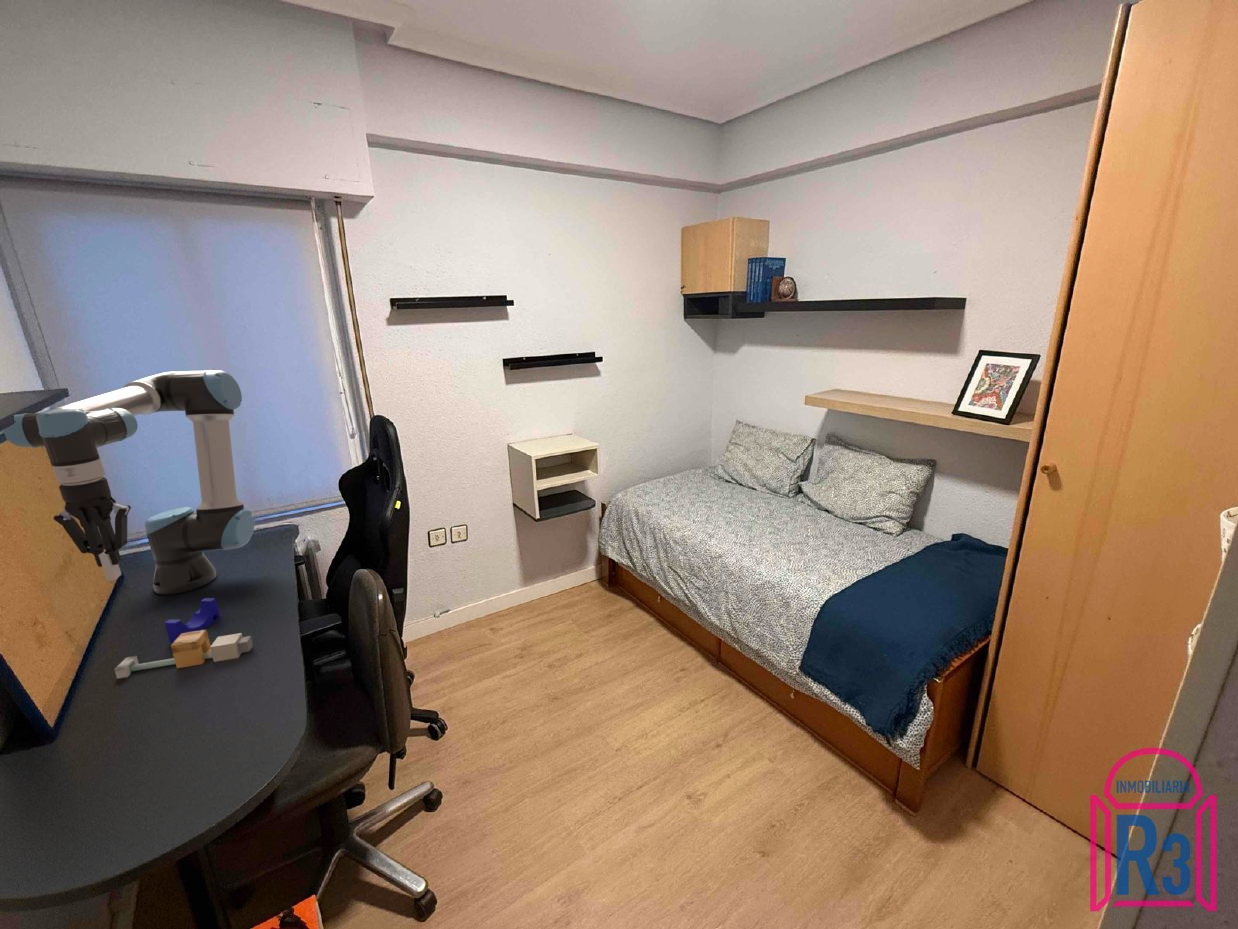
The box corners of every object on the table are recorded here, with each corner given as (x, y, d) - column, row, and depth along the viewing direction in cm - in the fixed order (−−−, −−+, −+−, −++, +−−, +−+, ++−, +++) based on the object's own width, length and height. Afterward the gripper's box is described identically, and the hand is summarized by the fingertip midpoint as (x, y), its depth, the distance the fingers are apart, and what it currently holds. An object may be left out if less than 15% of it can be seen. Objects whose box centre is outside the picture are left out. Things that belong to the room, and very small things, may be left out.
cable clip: (205, 617, 144) (199, 598, 142) (220, 618, 144) (215, 598, 142) (164, 643, 132) (158, 622, 131) (181, 644, 132) (175, 623, 130)
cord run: (116, 678, 119) (111, 663, 118) (128, 666, 123) (123, 651, 122) (248, 656, 126) (244, 641, 125) (255, 645, 130) (251, 631, 129)
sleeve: (177, 668, 122) (170, 645, 120) (187, 655, 127) (181, 633, 125) (202, 664, 123) (196, 641, 122) (211, 651, 128) (206, 629, 127)
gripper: (32, 489, 110) (68, 590, 116) (109, 482, 113) (140, 580, 120) (55, 479, 116) (89, 575, 123) (128, 472, 120) (156, 565, 127)
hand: (114, 577), depth 122 cm, fingers closed
